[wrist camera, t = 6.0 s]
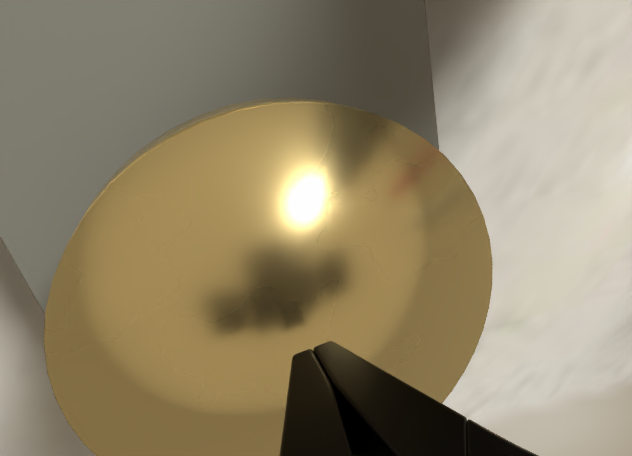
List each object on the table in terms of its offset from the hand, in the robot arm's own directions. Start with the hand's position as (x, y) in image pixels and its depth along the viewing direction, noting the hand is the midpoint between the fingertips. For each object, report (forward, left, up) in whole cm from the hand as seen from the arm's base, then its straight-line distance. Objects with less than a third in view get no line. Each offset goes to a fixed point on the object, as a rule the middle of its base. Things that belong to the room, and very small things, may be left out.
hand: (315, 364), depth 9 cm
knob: (0, 0, -6) cm, 6 cm away
